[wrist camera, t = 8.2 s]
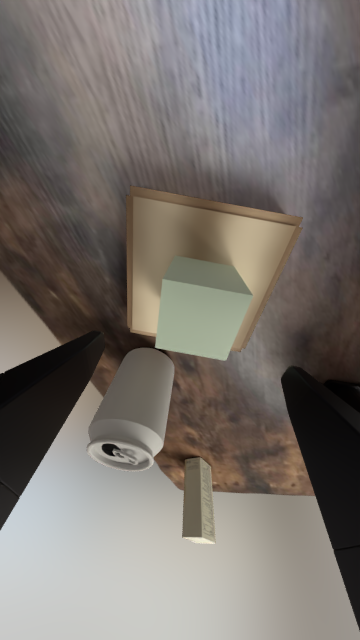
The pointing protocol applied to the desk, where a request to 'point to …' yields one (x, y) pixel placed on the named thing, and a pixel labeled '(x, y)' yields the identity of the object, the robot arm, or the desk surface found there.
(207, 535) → the skincare box
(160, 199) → the base slab
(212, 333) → the green block
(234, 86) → the desk surface
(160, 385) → the can
